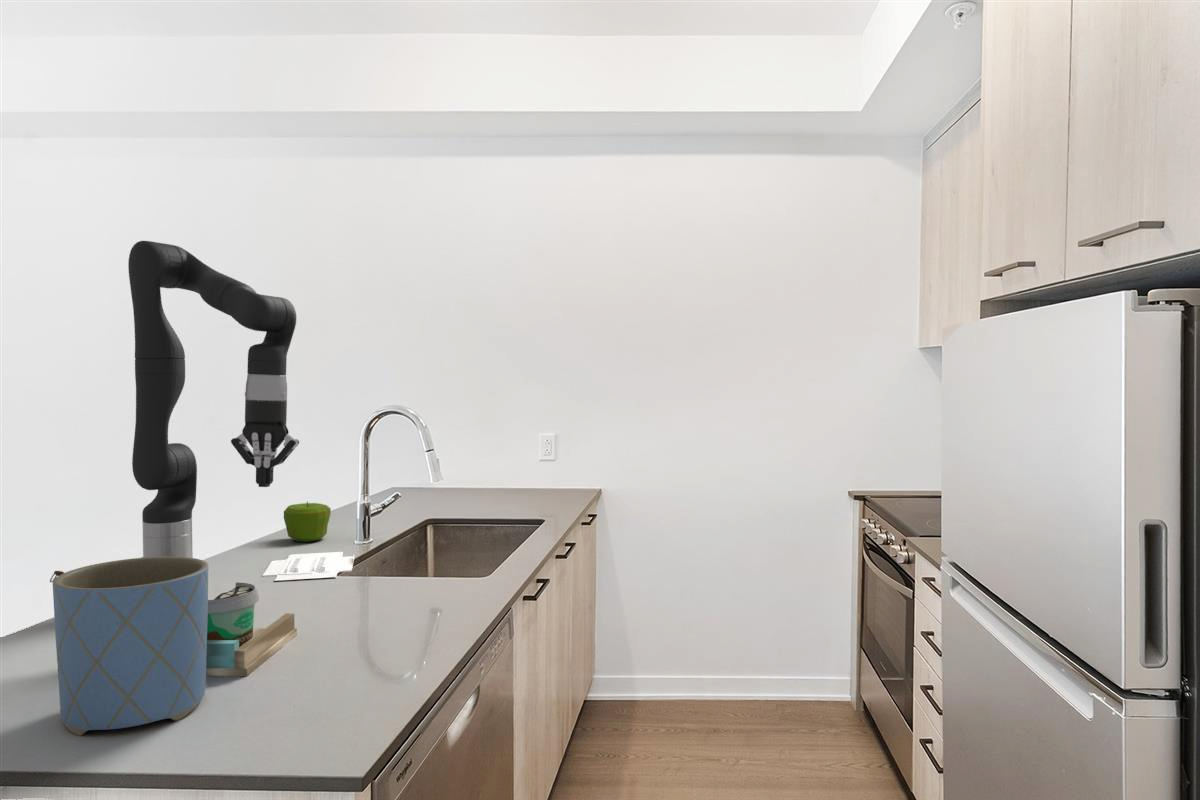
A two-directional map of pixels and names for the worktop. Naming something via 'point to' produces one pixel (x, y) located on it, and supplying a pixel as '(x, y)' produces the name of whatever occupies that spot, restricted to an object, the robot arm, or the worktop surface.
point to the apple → (307, 521)
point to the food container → (232, 614)
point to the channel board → (248, 649)
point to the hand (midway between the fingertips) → (264, 486)
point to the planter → (131, 641)
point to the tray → (310, 566)
